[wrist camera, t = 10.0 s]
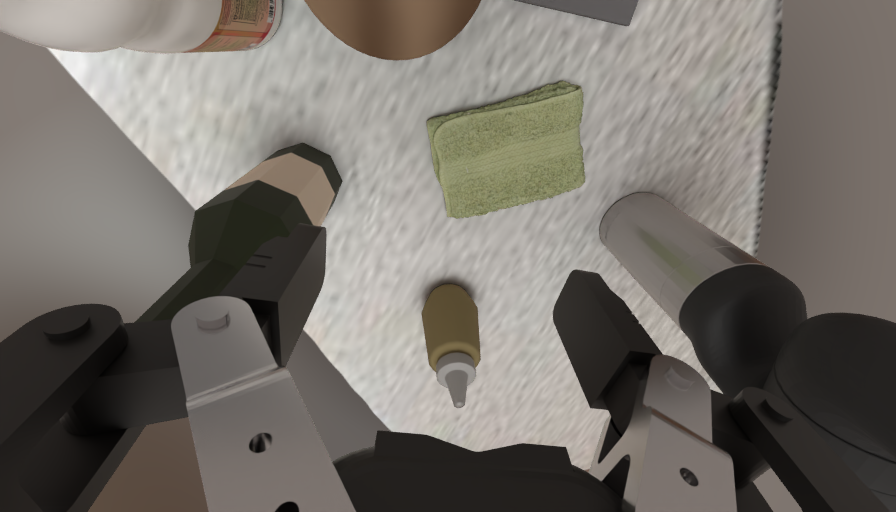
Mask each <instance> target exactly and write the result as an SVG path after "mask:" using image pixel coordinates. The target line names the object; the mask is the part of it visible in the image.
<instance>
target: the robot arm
mask: <svg viewBox="0 0 896 512" xmlns="http://www.w3.org/2000/svg"><path fill="white" fill-rule="evenodd" d="M600 238H601V241H602V243H603V244H604V245H605V246H606V248H607V249H608V250H609V251H610V252H611V253H612V254H613V255H614V256H615V258H616V259H617V260H618V261H619V262H620V263H621V264H622V265H623V267H624V268H625V269H626V270H627V271H628V272H629V273H630V274H631V275H632V276H633V278H634V279H635V280H636V281H637V282H638V283H639V284H640V285H641V286H642V287H643V289H644V290H645V291H646V292H647V293H648V294H649V295H650V296H651V297H652V298H653V299H654V301H655V302H656V303H657V304H658V305H659V306H660V307H661V308H662V309H663V310H664V311H665V312H666V314H667V315H668V316H669V317H670V318H671V319H672V320H673V321H674V322H675V323H676V324H677V326H678V327H679V328H680V329H681V330H682V331H683V332H684V333H685V334H686V335H687V337H688V338H689V339H690V340H691V342H692V345H693V347H694V350H695V353H696V356H697V358H698V360H699V362H700V363H701V365H702V367H703V368H704V369H705V371H706V372H707V373H708V375H709V376H710V377H711V379H712V380H713V381H714V382H715V384H716V385H717V386H718V387H719V389H720V390H721V391H722V392H723V394H721V393H719V392H716V391H713V390H711V389H710V387H709V385H708V384H707V382H706V381H705V379H704V378H703V377H702V376H701V375H700V374H699V373H698V372H697V371H696V370H695V369H693V368H692V367H691V366H689V365H688V364H686V363H685V362H683V361H681V360H679V359H677V358H674V357H671V356H668V355H663V354H662V353H661V351H660V350H659V349H658V347H657V346H656V344H655V343H654V342H653V340H652V339H651V338H650V336H649V335H648V334H647V332H646V331H645V329H644V328H643V327H642V325H641V324H639V321H638V320H637V319H636V317H635V316H634V314H632V312H631V310H630V309H629V308H628V306H627V305H626V304H625V302H624V301H623V300H622V299H621V298H620V297H618V296H617V295H616V294H615V293H614V292H612V291H611V290H610V289H609V287H608V286H607V284H606V283H605V282H604V280H603V279H602V277H601V276H600V275H599V274H598V273H594V272H588V271H582V270H573V271H572V272H571V273H570V275H569V277H568V279H567V281H566V283H565V285H564V287H563V289H562V291H561V293H560V295H559V297H558V299H557V302H556V304H555V306H554V310H553V321H554V324H555V326H556V329H557V331H558V333H559V336H560V338H561V340H562V343H563V345H564V347H565V350H566V352H567V354H568V357H569V359H570V361H571V364H572V366H573V369H574V371H575V373H576V376H577V378H578V380H579V383H580V385H581V387H582V390H583V392H584V394H585V397H586V399H587V401H588V404H589V406H590V408H596V409H605V410H608V411H609V413H610V415H609V417H608V418H607V419H606V421H605V423H604V426H603V429H602V432H601V436H600V439H599V442H598V445H597V448H596V451H595V455H594V458H593V461H592V464H591V467H590V471H589V473H588V472H586V471H584V470H582V469H580V468H578V467H576V466H574V465H572V464H571V461H570V458H569V455H568V452H567V449H566V447H558V446H547V445H535V444H524V443H521V444H517V445H512V446H507V447H502V448H497V449H492V450H487V451H482V452H474V451H471V450H468V449H465V448H462V447H459V446H457V445H454V444H451V443H448V442H445V441H442V440H440V439H437V438H434V437H431V436H428V435H423V434H411V433H400V432H389V431H377V436H376V441H375V446H373V447H369V448H363V449H360V450H357V451H354V452H351V453H349V454H347V455H344V456H342V457H340V458H338V459H336V460H335V461H333V462H332V461H331V459H330V456H329V454H328V452H327V450H326V448H325V446H324V444H323V442H322V440H321V438H320V435H319V433H318V431H317V429H316V427H315V425H314V423H313V421H312V419H311V417H310V415H309V413H308V410H307V408H306V406H305V404H304V402H303V400H302V398H301V396H300V394H299V392H298V390H297V387H296V385H295V383H294V381H293V379H292V377H291V375H290V373H289V371H288V370H287V368H286V364H287V362H288V360H289V358H290V356H291V354H292V351H293V349H294V347H295V345H296V343H297V341H298V338H299V336H300V334H301V332H302V330H303V328H304V325H305V323H306V321H307V319H308V317H309V315H310V312H311V310H312V308H313V306H314V304H315V302H316V299H317V297H318V295H319V293H320V291H321V288H322V285H323V281H324V276H325V263H326V228H325V227H321V226H315V225H309V224H303V223H299V224H297V226H296V227H295V228H294V230H293V231H292V232H291V234H290V235H289V236H288V237H287V238H286V237H280V236H277V237H275V238H273V239H271V240H269V241H267V242H265V243H263V244H262V245H261V246H260V247H259V248H258V249H257V251H256V252H255V253H254V254H253V256H251V258H250V259H249V260H248V261H247V262H246V265H244V266H243V267H242V268H241V269H240V270H239V272H238V273H237V274H236V275H235V276H234V277H233V279H232V280H231V281H230V282H229V283H228V284H227V286H226V287H225V288H224V289H223V290H222V291H221V293H220V294H219V295H218V296H216V297H209V298H205V299H201V300H198V301H195V302H193V303H191V304H189V305H187V306H186V307H184V308H182V309H181V310H180V311H179V312H178V313H177V314H176V315H175V316H174V318H173V319H168V320H159V321H148V322H136V323H126V324H124V323H123V320H122V318H121V315H120V313H119V312H118V311H117V310H116V309H115V308H112V307H110V306H107V305H101V304H81V305H74V306H69V307H64V308H61V309H57V310H54V311H51V312H48V313H46V314H44V315H41V316H39V317H37V318H35V319H33V320H31V321H29V322H28V323H26V324H25V325H23V326H22V327H21V328H19V329H18V330H17V331H15V332H14V333H13V334H12V335H10V336H9V337H7V338H6V339H5V340H3V341H2V342H1V343H0V512H88V510H89V509H90V507H91V506H92V504H93V503H94V501H95V500H96V498H97V497H98V495H99V494H100V492H101V491H102V490H103V488H104V486H105V485H106V484H107V482H108V481H109V479H110V478H111V476H112V475H113V473H114V472H115V470H116V469H117V467H118V466H119V464H120V463H121V461H122V460H123V458H124V457H125V456H126V454H127V453H128V451H129V450H130V448H131V447H132V445H133V444H134V442H135V441H136V440H137V438H138V437H139V435H140V434H141V432H142V430H143V429H144V428H145V426H146V425H148V424H154V423H158V422H164V421H170V420H175V419H180V418H185V417H189V421H190V426H191V431H192V435H193V439H194V445H195V449H196V454H197V459H198V463H199V468H200V473H201V477H202V481H203V487H204V491H205V496H206V501H207V505H208V510H209V512H773V511H772V509H771V508H770V507H769V505H768V503H767V502H766V500H765V499H764V498H763V496H762V495H761V493H760V492H759V490H758V489H757V487H756V486H755V484H754V483H753V481H754V480H755V479H756V478H758V477H759V476H760V475H762V474H763V473H764V472H766V471H767V470H768V469H770V468H772V469H773V471H774V472H775V473H776V475H777V476H778V477H779V479H780V480H781V482H783V484H784V486H785V487H786V488H787V490H788V491H789V492H790V494H791V495H792V496H793V498H794V499H795V500H796V502H797V503H798V504H799V506H800V507H801V508H802V511H803V512H896V323H894V322H891V321H888V320H885V319H881V318H877V317H872V316H866V315H862V314H853V313H827V314H821V315H818V316H814V317H811V318H809V319H807V313H806V304H805V300H804V297H803V295H802V293H801V291H800V290H799V288H798V287H797V286H796V285H795V284H794V283H793V282H791V281H790V280H789V279H787V278H786V277H784V276H783V275H781V274H780V273H778V272H777V271H775V270H773V269H772V268H770V267H768V266H767V265H765V264H764V263H762V262H761V261H759V260H757V259H756V258H754V257H753V256H751V255H750V254H748V253H746V252H745V251H743V250H741V249H740V248H738V247H737V246H735V245H734V244H732V243H730V242H729V241H727V240H726V239H724V238H723V237H721V236H720V235H718V234H716V233H715V232H713V231H712V230H710V229H709V228H707V227H706V226H704V225H702V224H701V223H699V222H698V221H696V220H695V219H693V218H691V217H690V216H688V215H687V214H685V213H684V212H682V211H681V210H679V209H678V208H676V207H675V206H673V205H671V204H670V203H668V202H667V201H665V200H664V199H662V198H660V197H659V196H657V195H655V194H652V193H647V192H644V193H636V194H631V195H629V196H627V197H624V198H623V199H621V200H620V201H618V202H617V203H615V204H614V205H613V206H612V207H611V208H610V209H609V210H608V212H607V213H606V214H605V216H604V218H603V220H602V223H601V226H600Z"/></svg>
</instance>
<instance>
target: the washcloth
mask: <svg viewBox="0 0 896 512" xmlns="http://www.w3.org/2000/svg"><path fill="white" fill-rule="evenodd" d="M582 109H583V92H582V88H581V86H578V85H571V84H570V83H567V82H566V81H560V82H559V83H556V84H553V85H552V84H551V85H549V84H548V85H547V86H545V87H542V88H541V89H537V90H535V91H533V92H531V93H529V94H527V95H522V96H517V97H513V99H508V100H506V101H505V102H501V103H500V102H499V103H497V104H493V105H491V106H490V105H487V106H484V107H483V106H481V108H480V109H479V108H477V109H474V110H472V109H471V110H468V111H465V112H463V111H462V112H458V113H456V114H454V113H452V114H450V115H449V116H441V117H437V118H431V119H430V120H428V121H427V128H428V133H429V138H430V143H431V151H432V158H433V165H434V171H435V173H436V176H437V179H438V181H439V183H440V185H441V186H442V188H443V192H444V198H445V202H446V210H447V217H454V218H456V219H458V218H460V217H462V218H464V217H467V218H468V217H471V216H475V215H476V216H477V215H478V216H480V215H484V214H487V213H488V212H493V211H498V210H499V209H506V208H507V207H508V208H510V207H513V206H518V205H520V204H522V205H524V204H527V203H529V202H534V200H544V199H547V198H548V197H549V198H552V197H553V196H555V195H559V194H561V193H564V192H566V191H567V192H569V191H571V190H573V189H576V188H579V187H580V186H582V184H583V183H584V182H585V175H584V173H585V172H584V163H583V162H582V160H583V157H582V155H583V149H582V146H581V145H580V132H579V124H580V123H581V117H582Z"/></svg>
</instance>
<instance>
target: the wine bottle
mask: <svg viewBox="0 0 896 512" xmlns="http://www.w3.org/2000/svg"><path fill="white" fill-rule="evenodd" d="M341 184H342V179H341V177H340V175H339V173H338V171H337V169H336V167H335V165H334V162H333V160H332V158H331V156H329V155H327V154H325V153H323V152H321V151H319V150H317V149H315V148H313V147H311V146H309V145H307V144H305V143H301V144H298V145H294V146H291V147H288V148H285V149H282V150H279V151H277V152H275V153H274V154H273V155H271V156H270V157H269V158H267V159H266V160H264V161H263V162H262V163H260V164H259V165H258V166H256V167H255V168H254V169H252V170H251V171H249V172H248V173H247V174H245V175H244V176H243V177H241V178H240V179H239V180H237V181H236V182H234V183H233V184H232V185H230V186H229V187H228V188H226V189H225V190H224V191H222V192H221V193H219V194H218V195H217V196H215V197H214V198H213V199H211V200H210V201H209V202H207V203H206V204H204V205H203V206H202V207H200V208H199V209H198V210H196V211H195V215H194V220H193V225H192V230H191V235H190V240H189V245H188V246H189V255H190V265H191V268H190V269H189V270H188V271H187V272H186V273H185V274H184V275H183V276H182V277H181V278H180V279H179V280H178V281H177V282H176V283H175V284H174V285H173V286H172V287H171V288H170V289H169V290H168V291H167V292H166V293H165V294H163V295H162V296H161V297H160V298H159V299H158V300H157V301H156V302H155V303H154V304H153V305H152V306H151V307H150V308H149V309H148V310H147V311H146V312H145V313H144V314H143V315H142V316H141V317H140V318H139V319H138V320H137V321H135V322H134V323H136V322H148V321H159V320H168V319H173V318H174V316H175V315H176V314H177V313H178V312H179V311H180V310H181V309H182V308H184V307H186V306H187V305H189V304H191V303H193V302H195V301H198V300H201V299H205V298H209V297H216V296H218V295H219V294H220V293H221V291H222V290H223V289H224V288H225V287H226V286H227V284H228V283H229V282H230V281H231V280H232V279H233V277H234V276H235V275H236V274H237V273H238V272H239V270H240V269H241V268H242V267H243V266H244V265H246V262H247V261H248V260H249V259H250V258H251V256H253V254H254V253H255V252H256V251H257V249H258V248H259V247H260V246H261V245H262V244H263V243H265V242H267V241H269V240H271V239H273V238H275V237H277V236H280V237H286V238H287V237H288V236H289V235H290V234H291V232H292V231H293V230H294V228H295V227H296V226H297V224H299V223H303V224H309V225H315V226H321V225H322V223H323V221H324V219H325V217H326V216H327V214H328V212H329V210H330V209H331V207H332V205H333V203H334V201H335V198H336V196H337V193H338V191H339V188H340V186H341Z"/></svg>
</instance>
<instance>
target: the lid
mask: <svg viewBox="0 0 896 512" xmlns="http://www.w3.org/2000/svg"><path fill="white" fill-rule="evenodd" d="M480 1H481V0H305V2H306V3H307V5H308V6H309V8H310V9H311V11H312V12H313V13H314V15H315V16H316V17H317V18H318V19H319V20H320V22H321V23H322V24H323V25H324V26H325V27H326V28H327V29H328V30H329V31H330V32H331V33H333V34H334V35H335V36H336V37H337V38H339V39H340V40H341V41H343V42H344V43H345V44H347V45H349V46H350V47H352V48H354V49H356V50H357V51H360V52H362V53H365V54H367V55H369V56H373V57H377V58H381V59H387V60H409V59H414V58H419V57H422V56H424V55H427V54H430V53H432V52H434V51H436V50H438V49H439V48H441V47H443V46H444V45H445V44H447V43H448V42H449V41H451V40H452V39H453V38H454V37H455V36H456V35H457V34H458V33H459V32H460V31H461V30H462V29H463V28H464V27H465V25H466V24H467V23H468V22H469V20H470V19H471V17H472V16H473V14H474V12H475V11H476V9H477V8H478V6H479V4H480Z"/></svg>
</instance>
